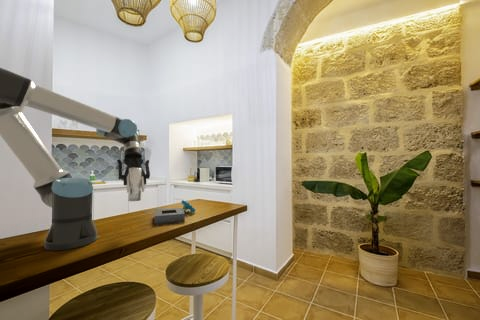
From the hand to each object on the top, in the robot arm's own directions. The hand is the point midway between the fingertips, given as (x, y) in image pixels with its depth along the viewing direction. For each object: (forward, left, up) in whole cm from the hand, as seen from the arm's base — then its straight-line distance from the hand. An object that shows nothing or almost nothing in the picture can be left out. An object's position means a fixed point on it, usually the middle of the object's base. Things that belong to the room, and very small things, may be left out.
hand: (135, 190), depth 86 cm
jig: (+14, +17, -18) cm, 28 cm away
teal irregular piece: (+26, +29, -18) cm, 43 cm away
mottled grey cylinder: (-1, +4, -5) cm, 6 cm away
